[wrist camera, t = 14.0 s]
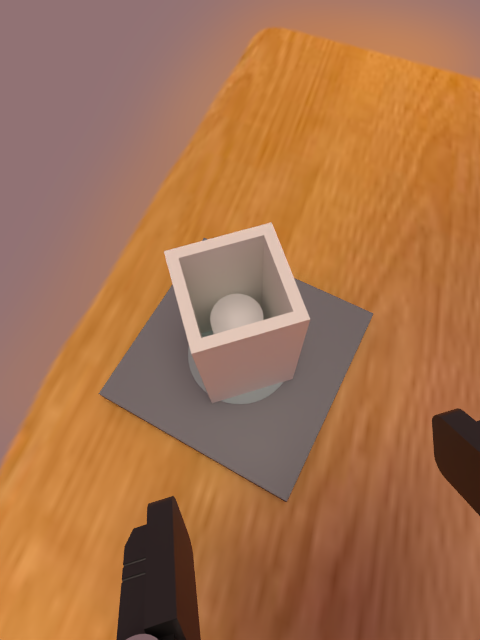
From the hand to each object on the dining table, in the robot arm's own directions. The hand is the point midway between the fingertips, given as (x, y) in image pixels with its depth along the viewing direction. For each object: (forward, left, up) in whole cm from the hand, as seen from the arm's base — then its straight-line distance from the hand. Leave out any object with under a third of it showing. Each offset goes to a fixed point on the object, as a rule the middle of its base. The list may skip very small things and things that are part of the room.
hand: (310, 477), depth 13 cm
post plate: (-7, -6, -16) cm, 18 cm away
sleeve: (-7, -6, -14) cm, 17 cm away
